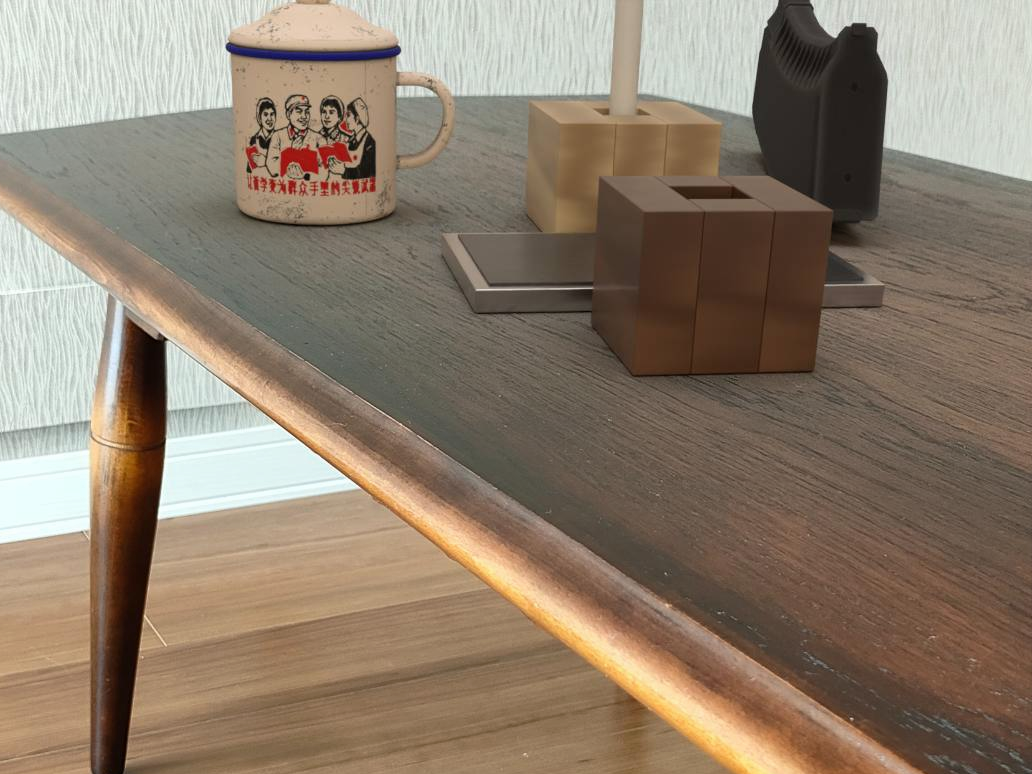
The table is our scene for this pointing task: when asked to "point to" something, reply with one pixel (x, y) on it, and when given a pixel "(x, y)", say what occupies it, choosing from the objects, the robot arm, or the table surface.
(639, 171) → the pen stand
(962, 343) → the table surface
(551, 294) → the shallow grey tray
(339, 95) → the teacup with lid
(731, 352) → the stylus rest
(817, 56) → the ribbed dark grey housing
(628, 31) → the stylus
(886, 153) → the table surface
